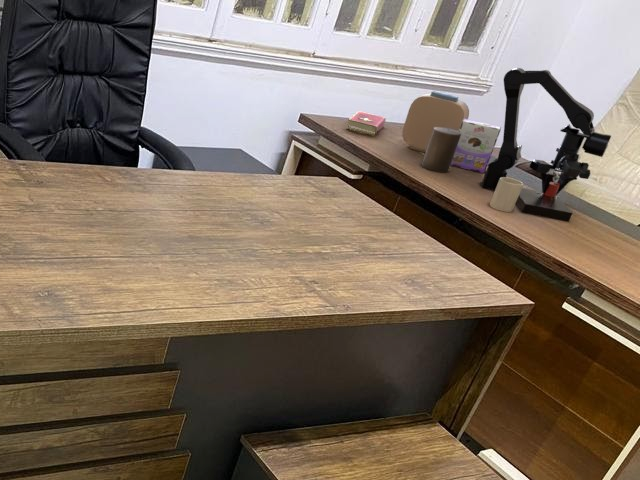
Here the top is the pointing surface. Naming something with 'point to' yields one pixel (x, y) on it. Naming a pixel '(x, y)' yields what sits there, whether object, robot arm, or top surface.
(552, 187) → the red cube
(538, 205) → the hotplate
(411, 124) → the alarm clock
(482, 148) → the candy box
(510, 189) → the cup
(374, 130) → the hardcover book
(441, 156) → the pillar candle
